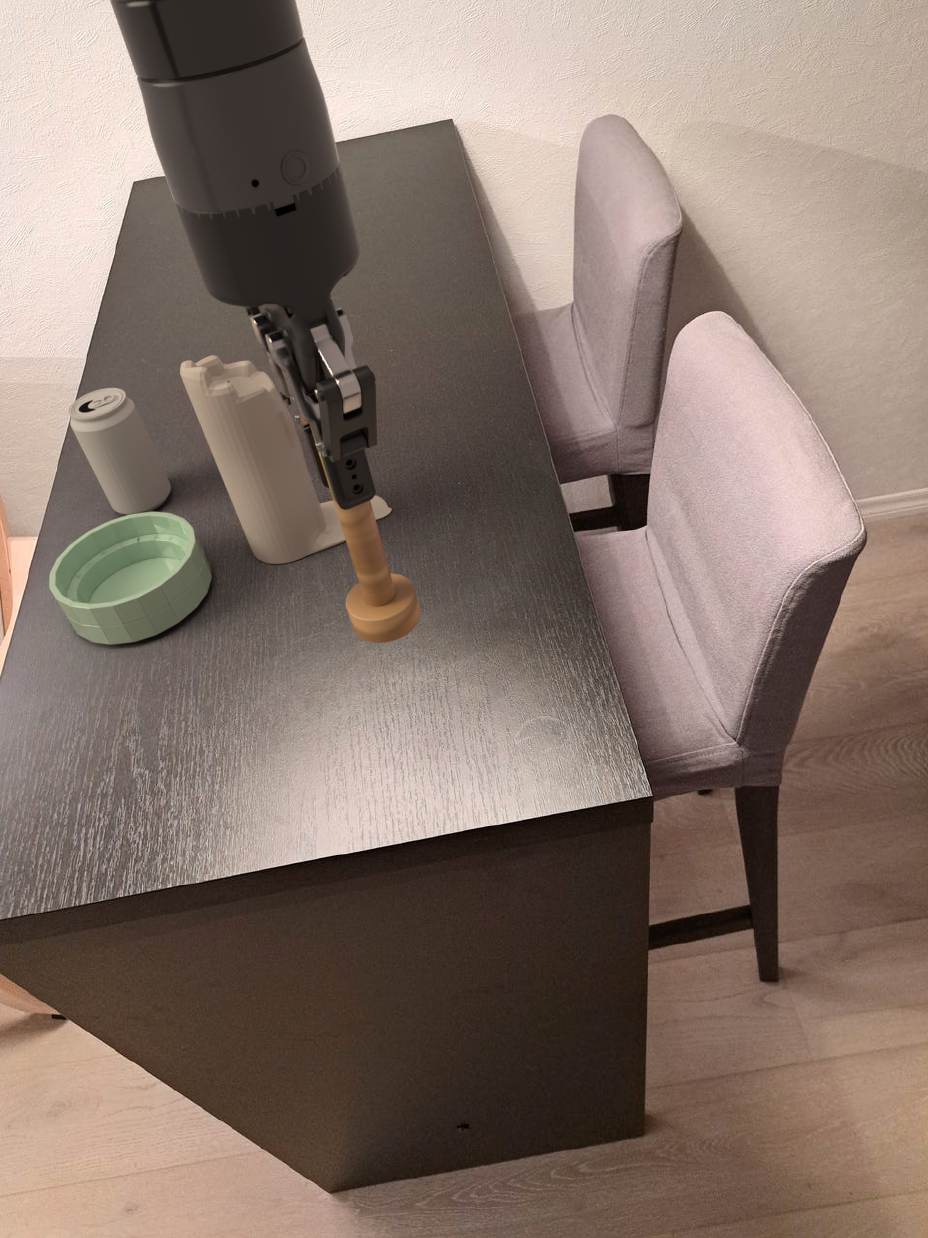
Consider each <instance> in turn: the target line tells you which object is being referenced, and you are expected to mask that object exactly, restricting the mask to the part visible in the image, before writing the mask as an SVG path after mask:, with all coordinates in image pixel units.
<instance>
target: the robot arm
mask: <svg viewBox="0 0 928 1238" xmlns="http://www.w3.org/2000/svg"><path fill="white" fill-rule="evenodd" d="M109 2H110V5H111V8H112V10H113V13H114V16H115V19H116V21H117V25H118V27H119V30H120V33H121V36H122V39H123V41H124V45H125V47H126V50H127V53H128V56H129V59H130V62H131V65H132V67H133V71H134V73H135V75H136V80H137V84H138V87H139V89H140V94H141V97H142V101H143V105H144V109H145V115H146V119H147V124H148V128H149V133H150V137H151V139H152V142H153V145H154V148H155V151H156V155H157V158H158V161H159V163H160V166H161V169H162V171H163V174H164V177H165V180H166V182H167V185H168V188H169V191H170V193H171V196H172V199H173V202H174V206H175V208H176V210H177V214H178V216H179V219H180V221H181V225H182V227H183V230H184V233H185V235H186V240H187V241H188V245H189V247H190V249H191V253H192V256H193V258H194V261H195V263H196V266H197V269H198V272H199V275H200V278H201V281H202V283H203V286H204V288H205V290H206V291H207V293H208V294H209V295H210V296H211V297H213V298H214V299H215V300H217V301H219V302H221V303H223V304H227V305H230V306H235V307H244V311H245V313H246V315H247V317H249V319H250V323H251V325H252V329H253V333H254V336H255V338H256V341H258V343H259V344H260V345H261V346H262V349H263V352H264V354H265V356H266V359H267V362H268V364H269V368H270V371H271V374H272V377H273V382H274V384H275V386H276V387H278V389H279V395H280V397H281V399H282V401H283V402H285V404H286V405H287V406H291V408H292V411H293V416H292V417H293V421H294V422H295V424H296V425H298V427H299V428H300V429H301V430H303V432H304V435H305V436H304V437H305V438H306V441H307V445H308V448H309V452H310V454H311V458H312V461H313V464H314V467H315V470H316V473H317V477H318V479H319V481H320V482H321V484H322V485H323V486H324V487H325V488H327V489H330V488H329V485H328V481H327V478H326V475H325V472H324V469H323V465H322V462H321V459H320V456H319V452H320V454H321V457H322V460H323V463H324V467H325V470H326V473H327V476H328V480H329V483H330V486H331V489H332V492H333V496H334V499H335V501H336V502H337V504H338V505H339V507H340V508H341V509H343V510H348V509H351V508H353V507H356V506H358V505H360V504H363V503H365V502H368V501H370V500H371V499H373V498H374V496H375V495H376V493H377V492H376V487H375V483H374V480H373V477H372V472H371V467H370V465H369V461H368V457H367V454H366V451H365V450H366V449H370V448H372V447H375V446H377V445H378V429H377V426H378V425H377V423H378V422H377V420H378V419H377V418H378V417H377V384H376V377H375V374H374V372H373V370H371V368H370V367H369V366H368V365H367V364H363V365H360V366H358V367H357V363H356V360H355V357H354V353H353V350H352V349H353V345H354V341H355V339H354V336H353V335H354V334H353V330H352V328H351V323H350V320H349V318H348V315H347V313H346V312H345V309H343V308H342V307H338V308H336V306H335V303H334V301H333V300H332V295H331V294H332V292H333V290H334V288H335V287H336V285H337V284H338V283H339V282H340V280H342V278H344V277H346V276H348V275H349V274H350V273H351V272H352V271H353V269H354V268H355V267H356V265H357V263H358V261H359V259H360V254H361V246H360V245H361V244H360V241H359V237H358V232H357V228H356V225H355V220H354V216H353V211H352V207H351V203H350V199H349V198H350V197H349V195H348V194H349V193H348V190H347V186H346V181H345V177H344V173H343V169H342V164H341V160H340V156H339V152H338V149H337V148H338V147H337V143H336V138H335V135H334V130H333V126H332V122H331V117H330V113H329V108H328V104H327V101H326V98H325V94H324V91H323V88H322V85H321V82H320V79H319V76H318V74H317V72H316V69H315V66H314V64H313V60H312V58H311V55H310V52H309V48H308V45H307V42H306V38H305V36H304V29H303V24H302V21H301V16H300V13H299V8H298V5H297V0H109ZM310 426H311V427H310ZM311 429H312V430H311ZM312 432H313V433H312ZM313 435H314V436H313ZM314 438H315V440H314ZM315 441H316V443H315Z"/></svg>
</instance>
